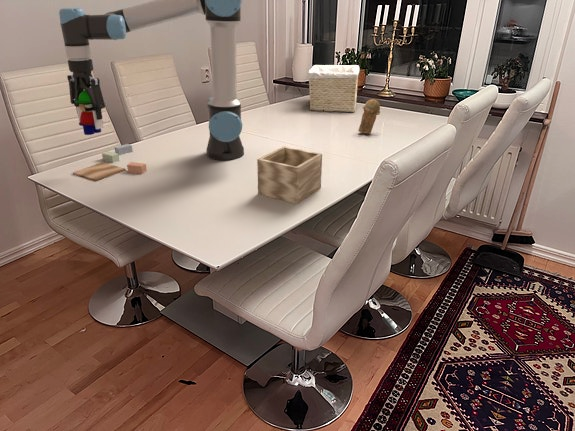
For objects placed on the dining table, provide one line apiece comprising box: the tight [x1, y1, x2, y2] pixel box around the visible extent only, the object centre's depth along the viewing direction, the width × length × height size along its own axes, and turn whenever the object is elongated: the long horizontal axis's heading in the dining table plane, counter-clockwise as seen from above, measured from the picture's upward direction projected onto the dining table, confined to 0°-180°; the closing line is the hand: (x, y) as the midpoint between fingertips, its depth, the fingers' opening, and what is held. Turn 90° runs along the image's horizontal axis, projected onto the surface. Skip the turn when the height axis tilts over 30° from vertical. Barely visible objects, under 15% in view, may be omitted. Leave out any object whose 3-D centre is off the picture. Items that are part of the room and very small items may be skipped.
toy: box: [75, 90, 102, 136], centre depth 165 cm, size 9×9×15 cm
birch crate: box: [256, 146, 323, 205], centre depth 158 cm, size 15×16×12 cm
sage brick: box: [101, 150, 120, 164], centre depth 186 cm, size 6×3×3 cm, turn 57°
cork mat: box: [72, 162, 127, 182], centre depth 175 cm, size 13×13×1 cm
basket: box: [307, 64, 360, 113], centre depth 264 cm, size 27×27×22 cm
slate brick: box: [114, 143, 134, 156], centre depth 194 cm, size 6×3×3 cm, turn 138°
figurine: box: [357, 98, 381, 135], centre depth 219 cm, size 8×8×15 cm
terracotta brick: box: [126, 161, 148, 175], centre depth 175 cm, size 6×3×3 cm, turn 74°
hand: (91, 126), depth 167 cm, fingers closed on toy, 8 cm apart
